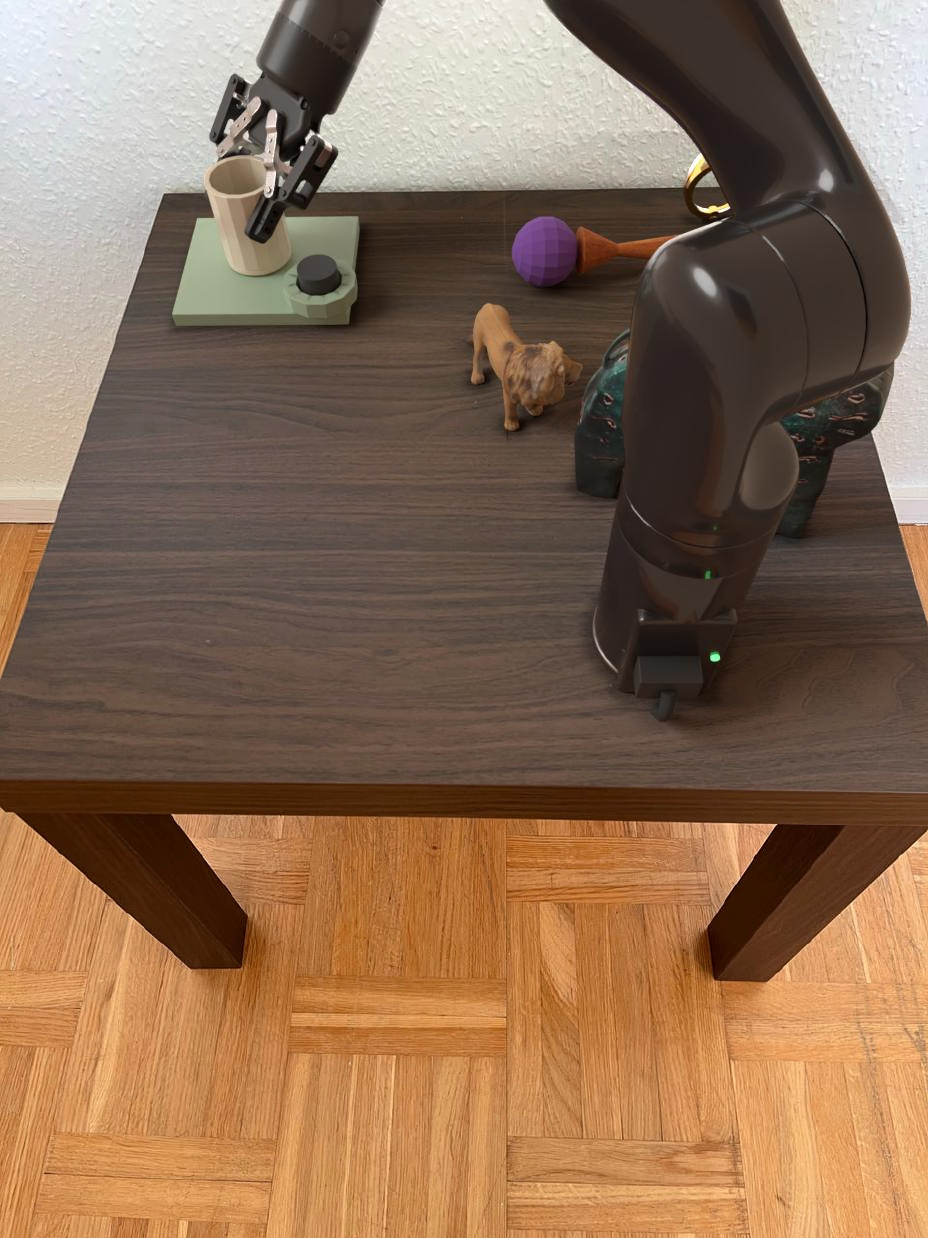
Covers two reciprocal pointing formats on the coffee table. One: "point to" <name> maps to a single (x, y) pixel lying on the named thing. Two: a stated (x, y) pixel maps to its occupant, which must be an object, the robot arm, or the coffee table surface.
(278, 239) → the cup
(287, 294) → the scale
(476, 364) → the lion figurine
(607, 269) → the coffee table surface
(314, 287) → the button
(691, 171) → the ring
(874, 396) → the ceramic cat
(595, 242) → the kendama
